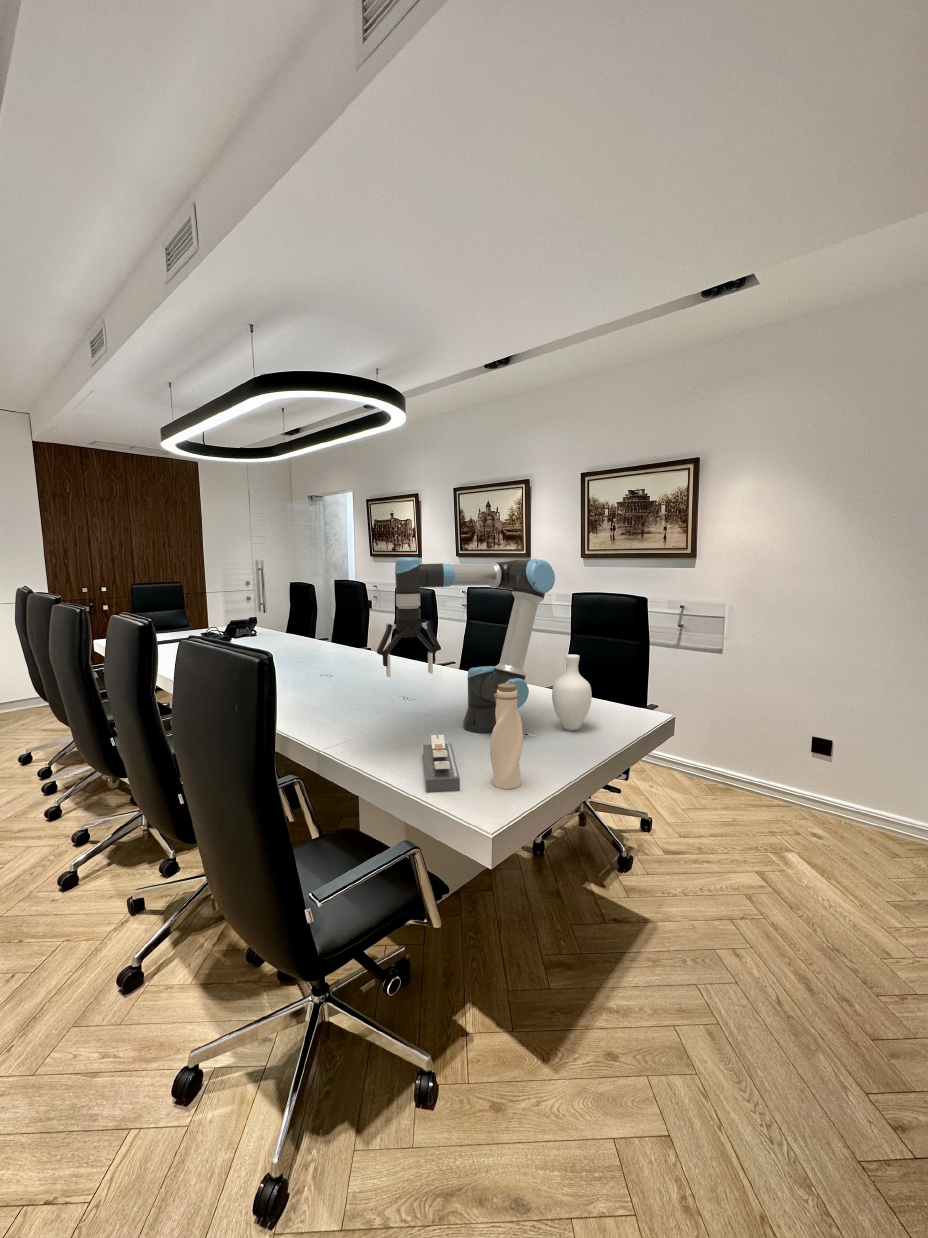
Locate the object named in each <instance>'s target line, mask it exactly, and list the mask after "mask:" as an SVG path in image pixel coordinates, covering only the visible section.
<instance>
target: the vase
mask: <svg viewBox="0 0 928 1238" xmlns="http://www.w3.org/2000/svg"><path fill="white" fill-rule="evenodd" d="M580 657H581V655H579V654H571V653H570V654H565V655H564V658H565V664H566V665H565V671H564V673H563V674H562V675H561V676H560V677H559V678H557V679H556V680H555V681H554V683H553V686H552V688H551V689H552V690H551V700H552V706H553V709H554V712H555V714H556V716H557V718H558V721H559V722H560V724H561V726H562V727H563V728H564V730H566V731H571V732H573V731H574V732H575V731H578V729H580V728H581V726H582V724H583V723H584V721H585V719H586V717H587V716H588V714H589V711H590V708H591V704H592V697H593V696H592V695H593V694H592V687H591V684H590V683H589V681H587V679H585V678H584V677H583V676H582V675H581V674H580V671H579V662H580Z"/></svg>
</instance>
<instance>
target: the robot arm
mask: <svg viewBox="0 0 928 1238" xmlns="http://www.w3.org/2000/svg"><path fill="white" fill-rule="evenodd" d="M394 567H395V568H394V576H395V605H396V607H397V608H396V609H395V610H396V613H395V614H396V616H395V617H396V623H395V624H394V623H391V624H390V623H386V626H385V631H384V634H383V636H382V638H381V640H380V643H379V645H378V647H377V649H376V654H377V655H380V656H382V666H384V667H385V669H386V670H385V672H386V673H385V674H386V675H385V676H386V677H387V678H391V676H392V675H391V671H392V670H391V656H390V655H389V654H390V653H391V651H392V650H393V649H394V647H395V646H397V644H398V642H399V641H400V640H402V638H405V639H407V638H415V637H417V638H418V639H419V640H420V641H421V642H422V643H423V644H424V646H425V647H426V648H427V649H428V651H427V672H428V673H429V674H434V663H436V653H437V652H439V651H442V647H441V645H440V643H439V641H438V639H437V637H436V636H435V633H434V631H433V630H432V624H431V622H430V621H426V620H425V622H422V620H421V617H422V616H421V614H422V613H421V608H420V606H421V588H422V589H423V588H447V587H452V586H454V587H455V586H456V587H457V586H461V587H462V586H463V587H464V586H477V587H478V586H489V587H490V588H491V589H503V590H508V591H511V594H512V596H513V598H514V599H513V600H514V601H513V605H512V609H511V612H510V616H509V622H508V625H507V626H508V627H507V630H506V634H505V638H504V643H503V646H502V651H501V655H500V660H499V663H498V664H497V665H495V666H494V665H489V666H488V665H487V666H484V665H483V666H477V667H471V668H469V669H468V672H467V679H466V680H467V709H466V712H465V715H464V719H463V722H462V723H463V724H462V726H463V729H464V730H466V731H469V732H471V733H477V734H478V733H480V734H489V733H492V732H493V729H494V727H495V725H496V716H495V710H496V702H497V698H495V697H494V694H495V693H497V690H498V685H499V684H505V683H508V684H515V685H516V690H517V694H519V698H517V709H520V708H521V707H523V705H524V704H525V703H526V701H527V700H528V697H529V693H530V691H529V690H530V689H529V688H530V687H528V683H527V682H526V678H527V677H526V676H527V674H526V672H525V670H524V667H525V662H526V657H527V654H528V649H529V645H530V640H531V637H532V632H533V629H534V623H535V619H536V615H537V610H538V606H539V603H541V602H544V600H545V597H546V596H545V595H546V593H549V592H550V590H553V587H554V586H555V582H556V576H555V571H554V569H553V567H552V565H551V564H550V563H549V562H548V561H547V560H544V559H537V558H533V559H531V558H530V559H513V560H505V561H495V562H494V561H493V562H490V563H489V564H460V563H459V564H458V563H457V564H455V563H454V564H450V563H444V562H442V563H421V562H420V558H419V557H397V558H396V560H395V565H394ZM422 628H423V629H424V630H425V631H426V633H427V635H428V636H429V638H430V639H429V640H430V641H431V642H432V644H433V645H432V644H431V643H430V642H429V640H428V639H426V637H425V636H424V634H423V633H421V630H422ZM395 629H396V631H397V632H396V633H395V634H394V637H393V638H392V639H391V641H390V642H389V643H388V640H389V638H390V636H391V634H392V632H393V631H394V630H395ZM387 643H388V645H387ZM496 696H497V695H496Z"/></svg>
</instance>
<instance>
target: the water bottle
mask: <svg viewBox="0 0 928 1238" xmlns="http://www.w3.org/2000/svg"><path fill="white" fill-rule="evenodd" d="M496 695H497V696H496ZM494 697H495V698H497V702H496V710H495V716H496V725H495V727H494V729H493V732H491V736H490V747H489V752H490V753H489V755H490V764H491V768H492V773H493V775H492V776H493V779H492V783H493V785H494V786H495V787H496V788H498V789H503V790H513V789H516V788H519V787H520V786H521V768H520V759H521V756H522V752H523V751H522V750H523V743H524V735H523V734H524V733H523V723H522V718H521V715H520V712H519V710H518V709H519V708H518V709H517V698H519V694H517V690H516V685H515V684H508V683H505V684H499V685H498V690H497V693H495V694H494Z"/></svg>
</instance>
